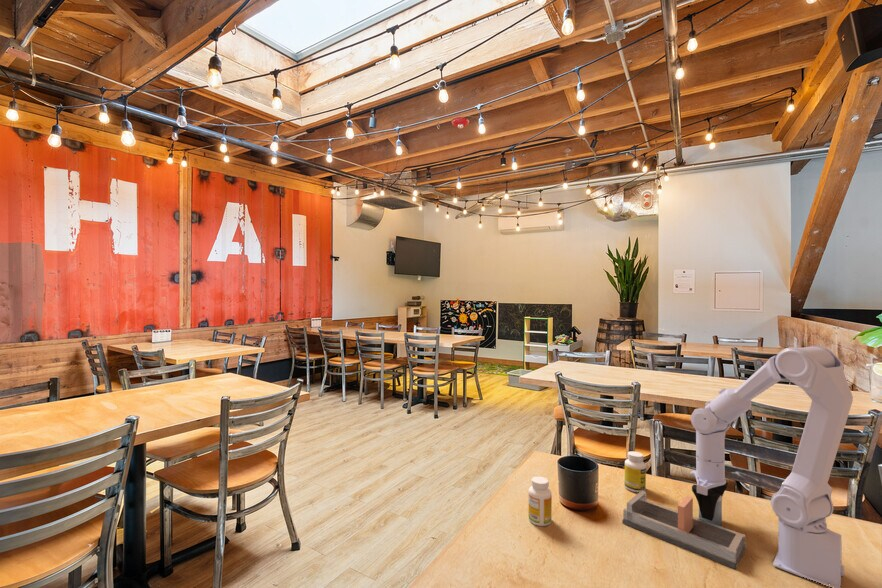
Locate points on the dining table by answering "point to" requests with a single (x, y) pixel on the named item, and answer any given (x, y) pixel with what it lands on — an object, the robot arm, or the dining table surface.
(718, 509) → the jar
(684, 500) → the plate
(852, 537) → the dining table surface
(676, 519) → the pusher lane
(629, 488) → the supplement bottle
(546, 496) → the supplement bottle
